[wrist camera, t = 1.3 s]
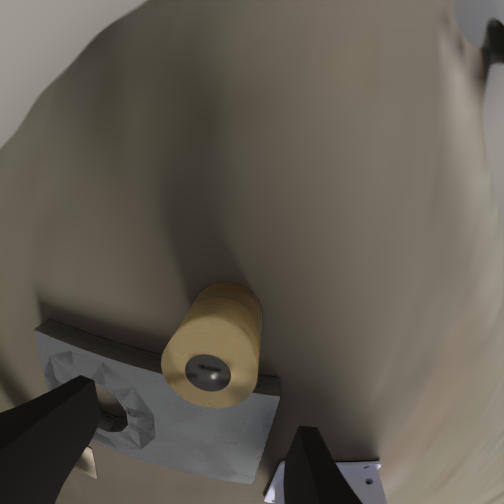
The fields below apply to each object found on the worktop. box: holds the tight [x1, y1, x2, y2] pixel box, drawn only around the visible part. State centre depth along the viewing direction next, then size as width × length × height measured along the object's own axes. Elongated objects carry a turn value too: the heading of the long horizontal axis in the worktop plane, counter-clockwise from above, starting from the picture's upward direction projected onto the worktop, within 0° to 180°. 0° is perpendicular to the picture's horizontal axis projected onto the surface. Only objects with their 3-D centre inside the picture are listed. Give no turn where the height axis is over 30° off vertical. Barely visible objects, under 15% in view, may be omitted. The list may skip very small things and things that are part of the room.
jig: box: [34, 319, 280, 484], centre depth 19 cm, size 18×11×2 cm, turn 81°
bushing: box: [161, 282, 263, 408], centre depth 15 cm, size 4×4×6 cm
